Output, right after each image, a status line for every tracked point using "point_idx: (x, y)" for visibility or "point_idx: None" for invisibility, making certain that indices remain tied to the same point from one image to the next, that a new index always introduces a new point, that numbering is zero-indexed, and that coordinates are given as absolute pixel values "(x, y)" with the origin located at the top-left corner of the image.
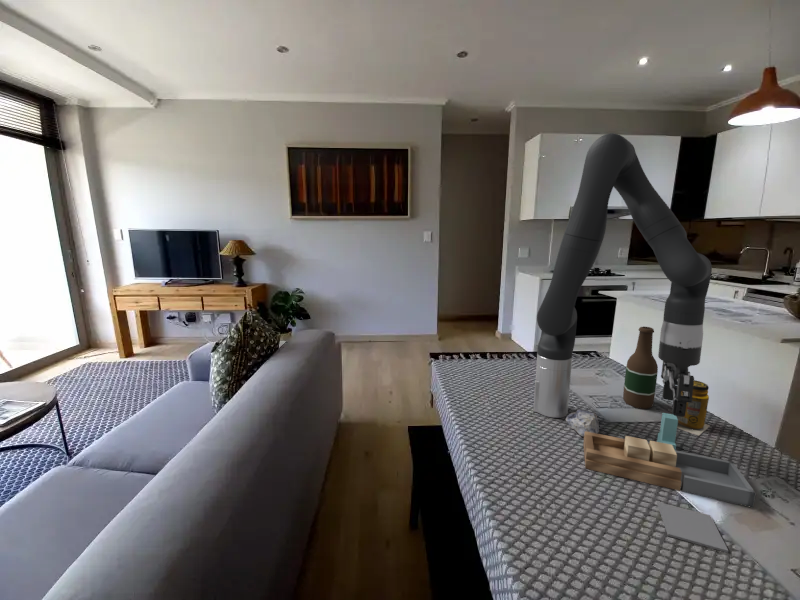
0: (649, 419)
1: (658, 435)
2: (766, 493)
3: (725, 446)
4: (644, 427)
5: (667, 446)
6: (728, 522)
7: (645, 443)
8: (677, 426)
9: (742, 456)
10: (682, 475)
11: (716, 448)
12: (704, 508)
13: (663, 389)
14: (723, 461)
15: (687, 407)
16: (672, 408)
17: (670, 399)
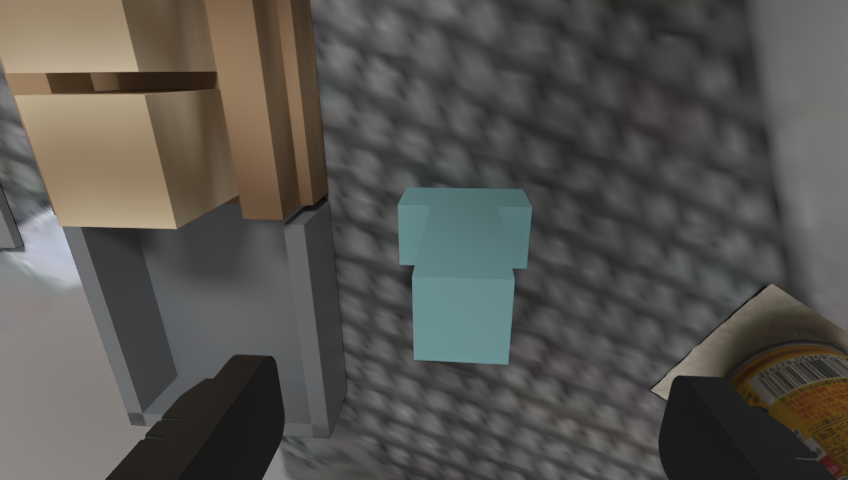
0: (818, 207)
1: (514, 202)
2: (286, 443)
3: (579, 450)
4: (691, 154)
5: (132, 196)
6: (40, 290)
7: (73, 52)
8: (740, 331)
9: (514, 471)
10: (220, 226)
11: (549, 415)
12: (64, 243)
13: (790, 475)
14: (311, 408)
15: (837, 464)
16: (239, 390)
17: (664, 432)
